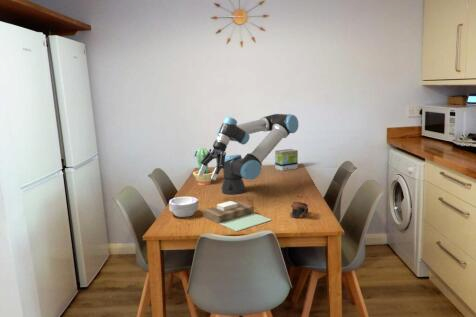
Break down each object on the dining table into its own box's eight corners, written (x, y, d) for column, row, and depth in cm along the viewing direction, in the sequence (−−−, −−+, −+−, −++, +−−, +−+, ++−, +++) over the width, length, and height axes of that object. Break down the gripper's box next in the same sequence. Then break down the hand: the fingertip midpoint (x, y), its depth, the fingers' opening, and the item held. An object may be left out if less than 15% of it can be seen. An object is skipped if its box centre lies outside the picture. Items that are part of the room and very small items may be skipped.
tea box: (282, 171, 303) (281, 152, 300) (274, 169, 312) (274, 150, 309) (298, 168, 310) (297, 149, 307) (290, 166, 319) (290, 148, 316)
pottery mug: (285, 216, 202) (288, 201, 204) (299, 221, 206) (302, 206, 209) (299, 216, 192) (303, 200, 194) (314, 221, 196) (317, 205, 198)
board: (237, 207, 218) (237, 200, 217) (253, 213, 207) (253, 206, 206) (203, 217, 205) (203, 209, 204) (219, 223, 194) (218, 216, 193)
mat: (253, 213, 207) (253, 213, 207) (271, 220, 196) (271, 219, 196) (219, 223, 194) (219, 223, 194) (236, 231, 183) (236, 230, 183)
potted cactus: (209, 179, 285) (207, 145, 281) (219, 183, 272) (217, 147, 268) (189, 183, 277) (187, 147, 273) (199, 187, 264) (197, 150, 260)
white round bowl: (204, 213, 210) (203, 199, 208) (181, 221, 200) (180, 206, 198) (187, 208, 221) (186, 194, 219) (164, 215, 211) (163, 200, 209)
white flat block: (230, 204, 211) (230, 200, 210) (237, 207, 206) (237, 203, 206) (216, 208, 205) (216, 204, 205) (223, 210, 201) (223, 207, 200)
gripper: (204, 138, 232) (189, 172, 228) (229, 141, 212) (213, 178, 208) (214, 144, 236) (199, 177, 233) (239, 147, 216) (224, 183, 213)
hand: (206, 177), depth 221 cm, fingers open, 13 cm apart
